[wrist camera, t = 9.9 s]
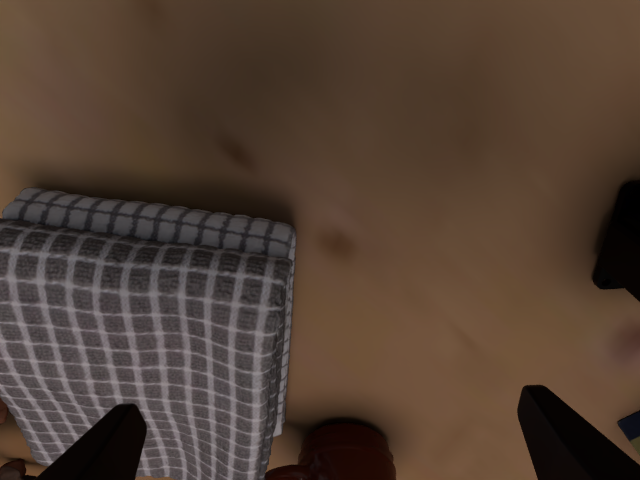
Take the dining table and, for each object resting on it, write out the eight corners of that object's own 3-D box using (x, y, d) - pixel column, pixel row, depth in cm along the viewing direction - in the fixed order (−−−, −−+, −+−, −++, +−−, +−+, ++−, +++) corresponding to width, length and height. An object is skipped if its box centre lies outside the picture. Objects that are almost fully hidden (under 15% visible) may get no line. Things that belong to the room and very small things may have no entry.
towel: (306, 204, 21) (293, 293, 14) (286, 416, 30) (272, 532, 23) (23, 174, 21) (-128, 251, 14) (90, 399, 30) (18, 511, 23)
